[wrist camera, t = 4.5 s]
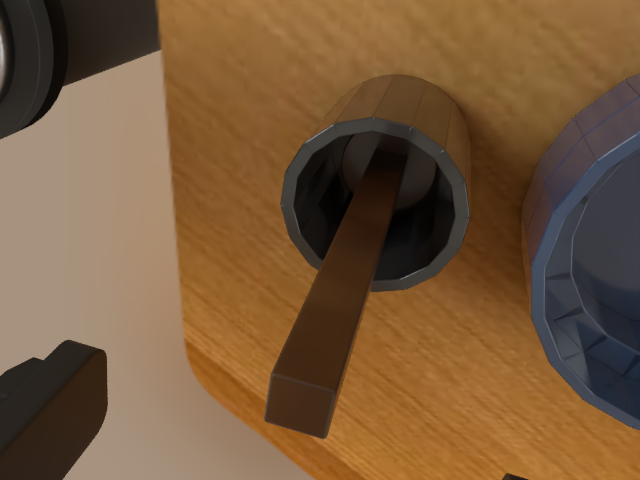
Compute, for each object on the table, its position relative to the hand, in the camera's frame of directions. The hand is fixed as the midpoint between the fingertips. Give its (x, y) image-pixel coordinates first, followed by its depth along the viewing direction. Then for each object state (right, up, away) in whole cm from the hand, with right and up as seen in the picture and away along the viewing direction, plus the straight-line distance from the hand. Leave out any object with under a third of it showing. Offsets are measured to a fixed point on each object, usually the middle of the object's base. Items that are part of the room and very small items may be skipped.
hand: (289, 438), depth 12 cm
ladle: (+4, +8, +15) cm, 17 cm away
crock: (+4, +8, +15) cm, 18 cm away
